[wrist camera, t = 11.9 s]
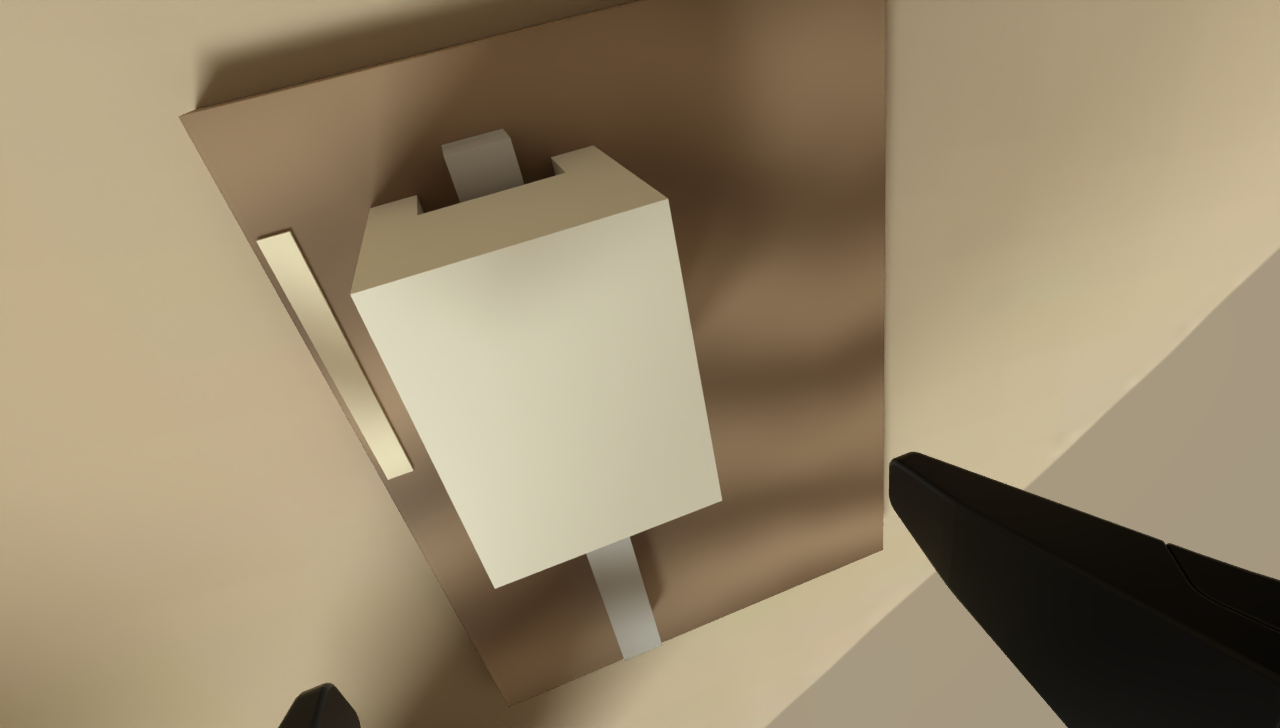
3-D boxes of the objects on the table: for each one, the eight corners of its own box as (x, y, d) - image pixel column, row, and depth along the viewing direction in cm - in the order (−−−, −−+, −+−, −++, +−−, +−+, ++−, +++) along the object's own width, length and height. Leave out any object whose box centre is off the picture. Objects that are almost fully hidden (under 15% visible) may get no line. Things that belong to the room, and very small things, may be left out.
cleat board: (867, 532, 30) (903, 573, 28) (505, 681, 28) (513, 741, 25) (859, -54, 18) (924, -65, 16) (194, 110, 15) (155, 126, 13)
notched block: (649, 386, 21) (722, 500, 16) (474, 447, 20) (494, 588, 15) (593, 145, 17) (667, 199, 12) (370, 208, 16) (350, 294, 11)
